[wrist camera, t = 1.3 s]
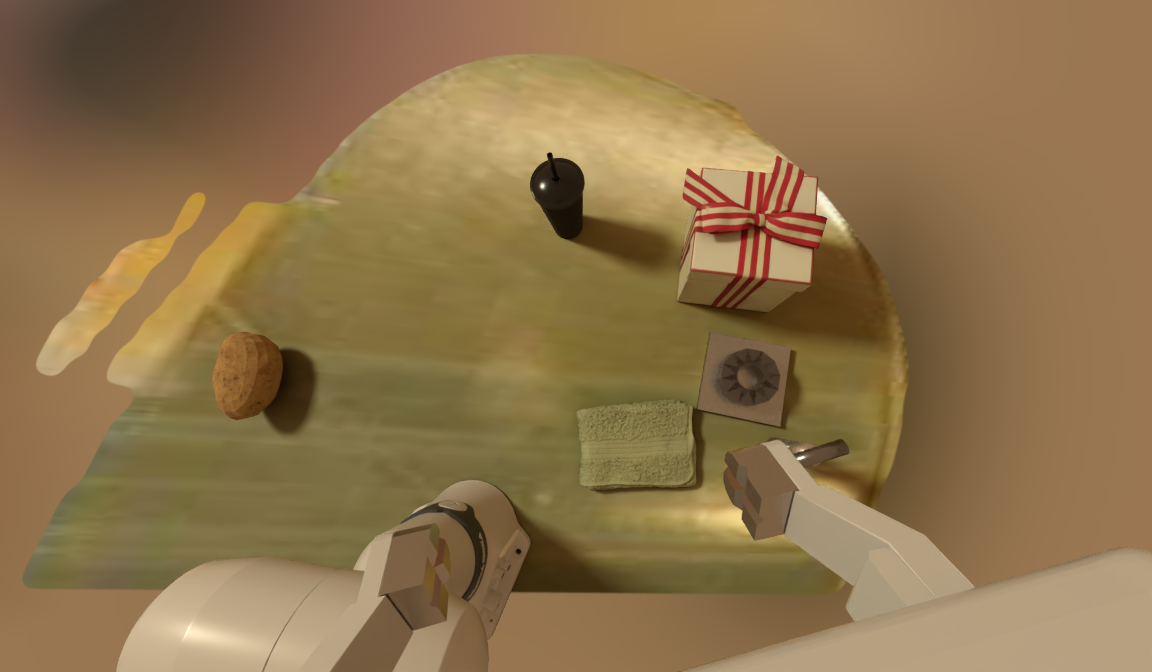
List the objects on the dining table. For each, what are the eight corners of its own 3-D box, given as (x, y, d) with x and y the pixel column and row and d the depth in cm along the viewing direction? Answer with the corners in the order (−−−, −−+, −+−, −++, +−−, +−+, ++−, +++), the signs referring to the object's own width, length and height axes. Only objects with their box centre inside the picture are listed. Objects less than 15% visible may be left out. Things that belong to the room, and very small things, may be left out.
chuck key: (794, 430, 62) (843, 436, 48) (801, 448, 61) (853, 458, 48) (748, 445, 62) (785, 454, 48) (755, 462, 61) (794, 476, 48)
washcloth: (698, 486, 62) (702, 490, 59) (580, 490, 64) (578, 494, 60) (689, 397, 64) (693, 396, 61) (576, 403, 66) (574, 402, 63)
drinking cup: (568, 196, 72) (550, 116, 52) (599, 224, 71) (593, 152, 51) (537, 226, 72) (506, 157, 52) (567, 255, 70) (548, 195, 50)
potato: (239, 420, 71) (192, 421, 63) (248, 339, 73) (203, 330, 65) (292, 418, 70) (251, 419, 62) (299, 336, 72) (261, 326, 64)
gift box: (775, 205, 68) (827, 137, 51) (777, 314, 65) (833, 280, 48) (670, 203, 70) (687, 137, 53) (666, 309, 67) (683, 274, 50)
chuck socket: (777, 426, 62) (788, 427, 58) (696, 409, 64) (701, 408, 60) (788, 348, 64) (799, 344, 60) (709, 333, 65) (714, 328, 61)
